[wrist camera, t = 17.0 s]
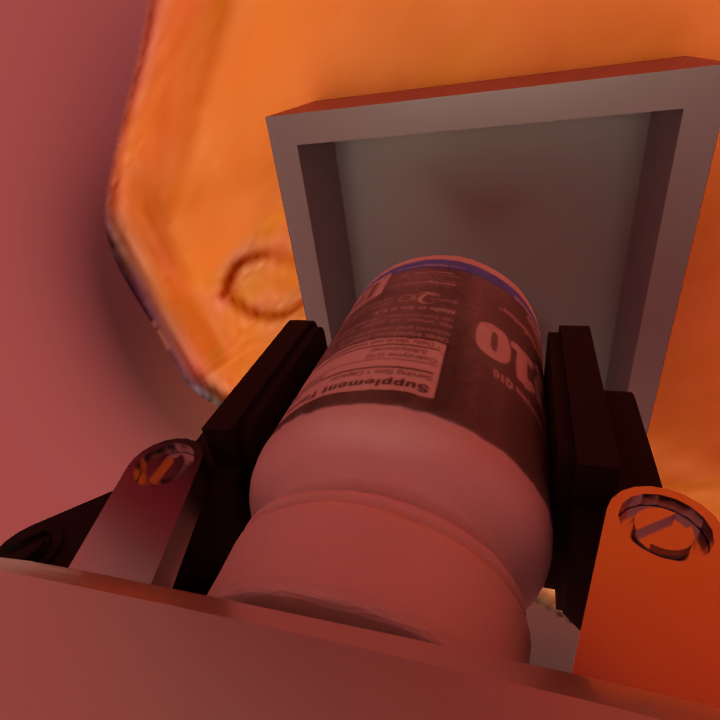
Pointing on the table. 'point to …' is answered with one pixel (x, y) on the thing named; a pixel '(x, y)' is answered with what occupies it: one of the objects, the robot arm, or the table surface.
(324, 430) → the pill bottle
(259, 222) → the table surface
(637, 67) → the tote
